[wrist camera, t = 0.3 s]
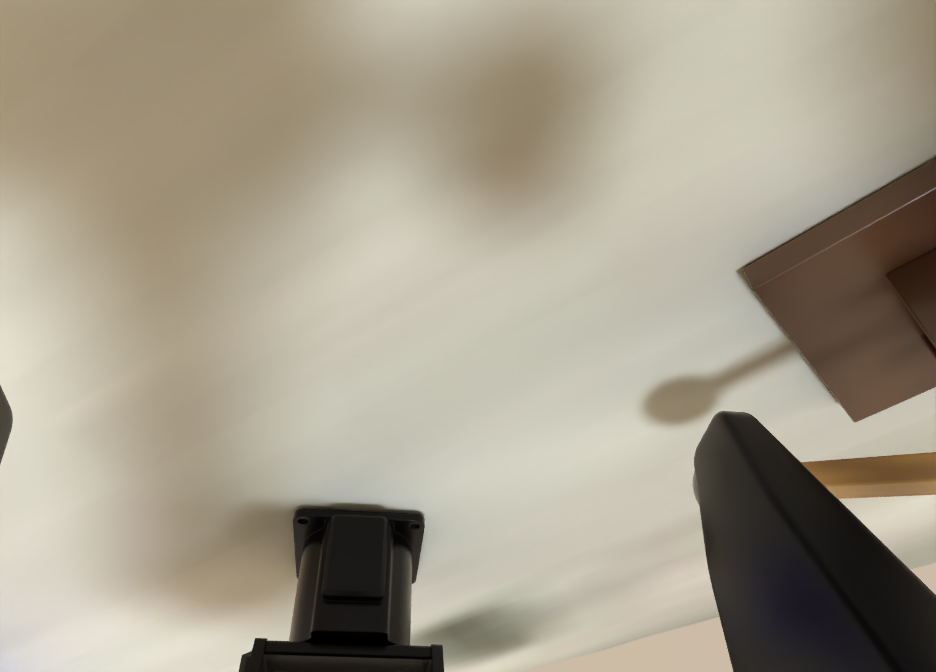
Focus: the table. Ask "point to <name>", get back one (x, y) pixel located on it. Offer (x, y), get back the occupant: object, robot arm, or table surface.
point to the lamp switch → (874, 476)
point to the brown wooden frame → (862, 295)
